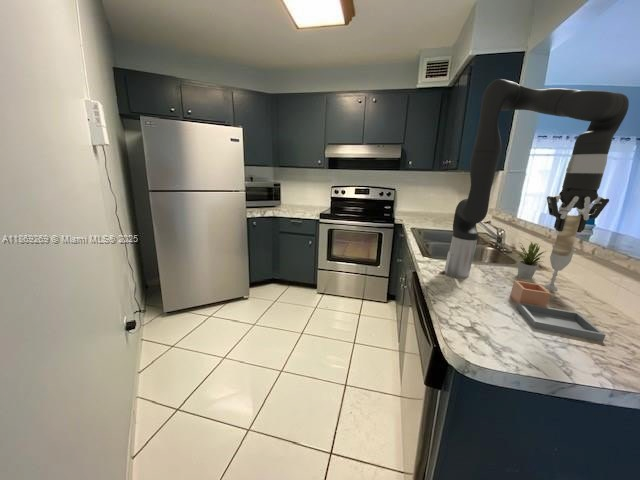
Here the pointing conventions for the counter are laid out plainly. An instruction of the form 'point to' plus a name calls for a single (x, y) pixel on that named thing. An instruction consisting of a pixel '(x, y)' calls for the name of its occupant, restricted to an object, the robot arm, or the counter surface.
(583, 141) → the robot arm
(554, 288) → the chalice
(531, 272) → the house plant
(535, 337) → the counter surface
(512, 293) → the terracotta open box
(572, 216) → the peg
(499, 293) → the counter surface
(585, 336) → the tray
